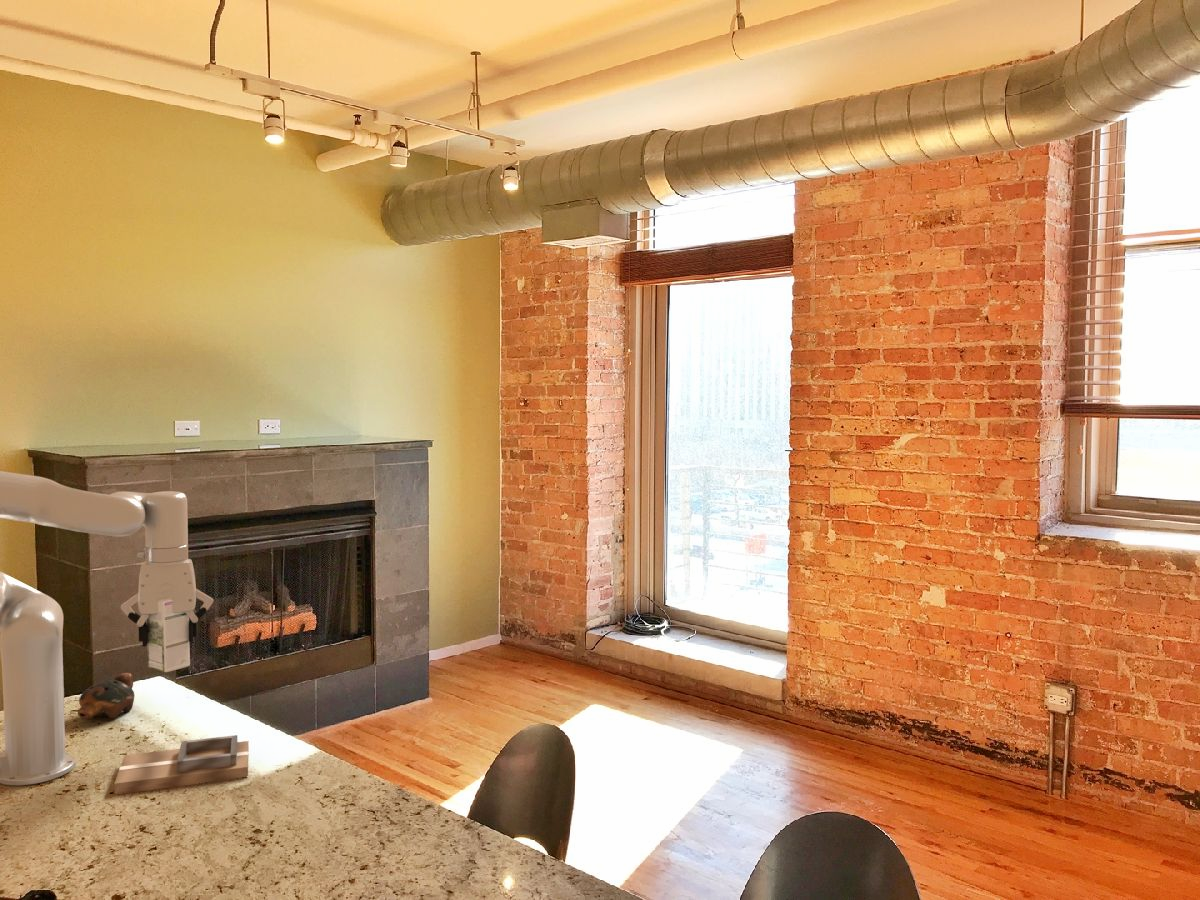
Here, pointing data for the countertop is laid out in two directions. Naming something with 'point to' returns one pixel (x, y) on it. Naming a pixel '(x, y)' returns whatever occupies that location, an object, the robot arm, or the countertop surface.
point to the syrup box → (168, 638)
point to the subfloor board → (184, 765)
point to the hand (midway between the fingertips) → (168, 642)
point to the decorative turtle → (107, 697)
